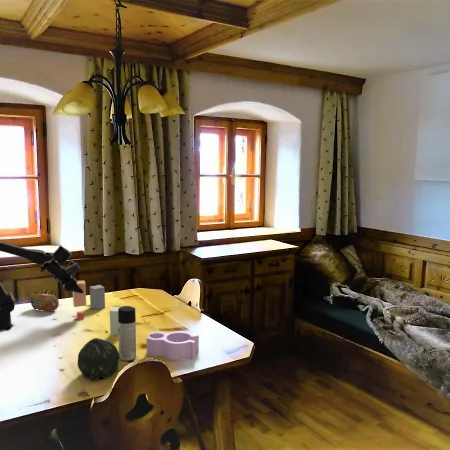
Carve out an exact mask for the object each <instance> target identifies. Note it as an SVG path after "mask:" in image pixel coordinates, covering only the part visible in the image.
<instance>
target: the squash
mask: <svg viewBox="0 0 450 450" xmlns="http://www.w3.org/2000/svg"><path fill="white" fill-rule="evenodd" d="M119 358H120V357H119V349H118V348H117V347H116V346H115V345H114V344H113V342H111V341H109V340H105V339H102V338H97V337H96V338H95V337H94V338H92V339H90V340H89V341H87V342H86V343H85V344H84V345H83V346H82V347H81V349H80V351H79V352H78V354H77V368H78V370H79V372H81V375H82V376H83V377H84V378H85V379H88V380H89V379H92V380H94V381H95V380H99V379H100V378H102V379H107V378H108V377H109V376H112V375H113V374H115V373H116V372H117V371H118V369H119V366H120V359H119Z"/></svg>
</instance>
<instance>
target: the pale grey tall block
mask: <svg viewBox="0 0 450 450" xmlns="http://www.w3.org/2000/svg"><path fill="white" fill-rule="evenodd" d="M120 307H121V306H114V307H112V308H111V309H110V310H109V327H110V329H109V330H110V332H109V333H110V336H118V309H119V308H120Z"/></svg>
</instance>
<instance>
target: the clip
mask: <svg viewBox="0 0 450 450" xmlns="http://www.w3.org/2000/svg"><path fill="white" fill-rule="evenodd" d="M199 338H200V335H199V334H193V333H191V332H188V331H182V330H181V331H178V330H177V331H171V332H163V331H152V332H149V336H146V354H147V355H149V356H152V357H164V358H165V357H166V358H165V359H167V358H168V359H167V360H171V359H172V361H184V360H183V359H185V360H188V359H191V358H195V359H196V353H198V352H197V351H200V347H199V346H200V345H199V343H200V339H199ZM187 358H188V359H187Z"/></svg>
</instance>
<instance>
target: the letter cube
mask: <svg viewBox="0 0 450 450" xmlns="http://www.w3.org/2000/svg"><path fill="white" fill-rule="evenodd" d="M76 319H77V320H84V319H85V311H84V310H80V311H76Z"/></svg>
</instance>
